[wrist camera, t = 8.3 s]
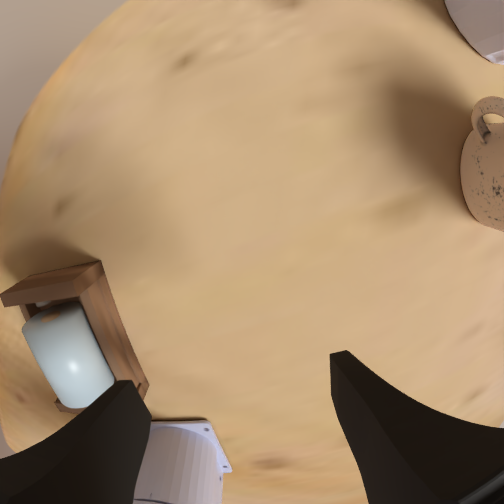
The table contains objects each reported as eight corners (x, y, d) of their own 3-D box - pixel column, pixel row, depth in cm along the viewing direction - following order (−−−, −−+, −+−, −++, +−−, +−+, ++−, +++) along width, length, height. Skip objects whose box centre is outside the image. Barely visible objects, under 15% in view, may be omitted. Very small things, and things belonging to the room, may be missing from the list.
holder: (149, 384, 21) (136, 418, 17) (77, 384, 21) (60, 411, 17) (100, 260, 18) (72, 280, 14) (28, 276, 18) (-1, 294, 14)
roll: (121, 367, 20) (104, 409, 15) (73, 370, 19) (51, 408, 14) (91, 296, 18) (60, 329, 13) (42, 305, 18) (9, 335, 13)
